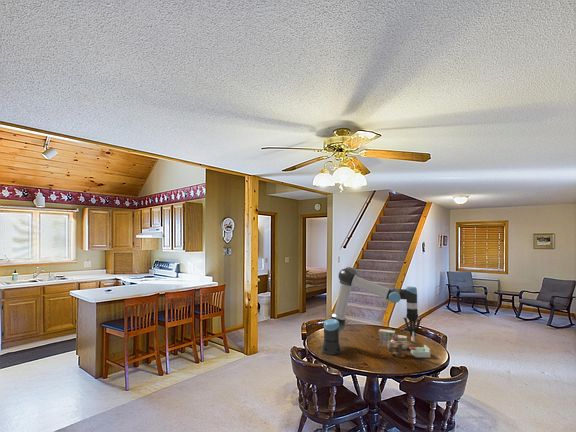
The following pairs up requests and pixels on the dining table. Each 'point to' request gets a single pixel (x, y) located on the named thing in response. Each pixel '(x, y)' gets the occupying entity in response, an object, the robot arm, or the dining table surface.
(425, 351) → the pale green open box
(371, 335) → the dining table surface
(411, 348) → the mottled brown lumpy cluster
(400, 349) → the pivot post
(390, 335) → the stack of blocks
